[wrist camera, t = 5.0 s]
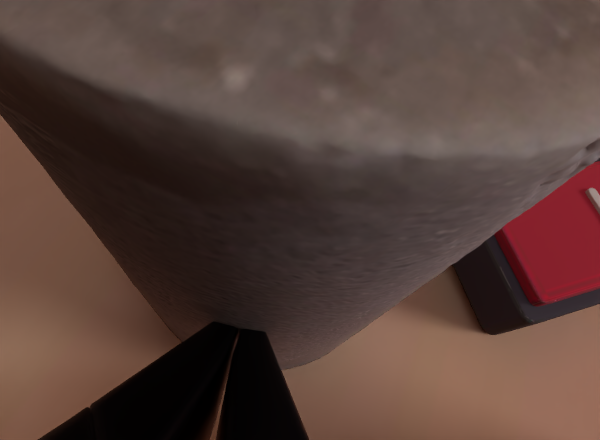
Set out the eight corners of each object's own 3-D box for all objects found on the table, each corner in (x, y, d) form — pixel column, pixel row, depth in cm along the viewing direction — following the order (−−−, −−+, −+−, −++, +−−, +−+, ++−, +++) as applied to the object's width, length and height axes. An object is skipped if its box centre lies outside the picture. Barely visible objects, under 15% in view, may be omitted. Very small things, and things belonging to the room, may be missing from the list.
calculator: (413, 76, 17) (680, 31, 20) (386, 136, 21) (612, 91, 24) (541, 322, 13) (858, 222, 16) (478, 340, 17) (740, 257, 20)
